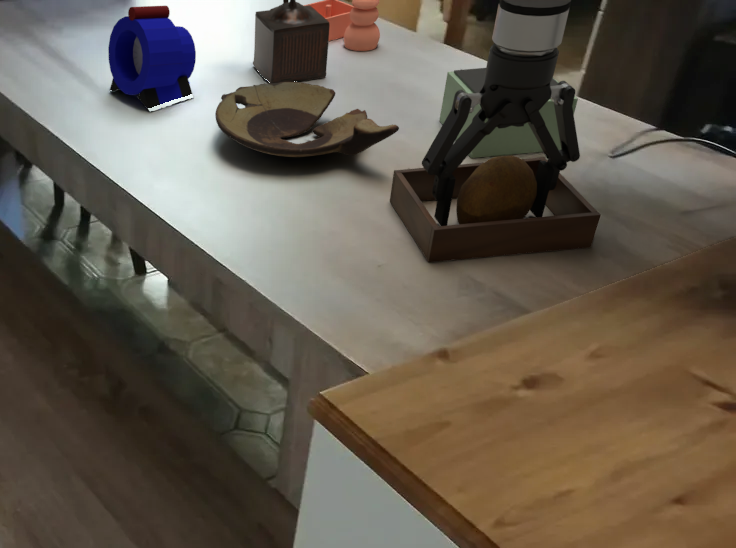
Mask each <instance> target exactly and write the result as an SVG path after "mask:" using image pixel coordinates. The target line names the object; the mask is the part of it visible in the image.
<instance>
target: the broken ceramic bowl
mask: <svg viewBox="0 0 736 548" xmlns="http://www.w3.org/2000/svg"><path fill="white" fill-rule="evenodd" d="M335 97H336V92H335V90H334V88H329V87H325V86H324V85H323V86H321V85H319V84H310V83H306V82H304V81H301V82H280V83H259V84H253V85H250V86H239V87H237V88H236V90H235V91H233V92H229V93H224V94H222V95H221V97H220V100H221V101H220V102H219V103H218V105H217V106H216V110H215V115H214V117H215V121H216V124H217V126H218V128H219V129H220V130H221V132H222V133H223V134H224V135H226V137H228V138H230V139H231V140H233V141H235V142H236V143H238V144H240V145H242V146H244V147H246V148H248V149H251V150H254V151H257V152H259V153H263V154H267V155H272V156H277V157H284V158H285V157H286V158H305V157H306V158H307V157H314V156H321V155H322V156H323V155H326V154H332V153H340V154H343V155H346V156H356V155H359V154H361V153H363V152H364V151H366V150H367V149H369V148H371V147H373V146H374V145H376V144H378V143H380V142H382V141H384V140H386V139H388V138H390V137H391V136H393V135H394V134H396V133H397V132H398V131H399V130H400V127H399V125H397V124H390V125H382V126H380V125H378V124H377V123H376V121H374V120H373V119H372V118H368V113H367V111H366V110H365V109H364V110H361V109H359V108H355V109H353V110H351V111H349V112H345V114H343V115H341V116H338V117H336V118H335V117H334V119H332V120H329V121H327V122H324V123H323V124H320V125H318V126H315V125H316V124H317V123H318V121H319V120H321V118H322V116H323V115H324V113H325V112H326V110H327V109H328V107H329V106H330V105H331V103H332V102H333V100H334V98H335ZM237 104H238V105H242V106H244V107H242V108H239V107H238V105H237ZM314 126H315V127H314ZM313 127H314V128H313ZM311 128H313V129H312V130H311ZM310 130H311V132H312V133H313V135H314V136H316V137H317V138H315V139H313V140H307V141H305V142H300V143H296V142H292V141H289V140H287V139H285V138H290V137H296V136H300V135H303V134H305V133H306V132H309V131H310Z"/></svg>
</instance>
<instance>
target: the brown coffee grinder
mask: <svg viewBox="0 0 736 548" xmlns="http://www.w3.org/2000/svg"><path fill="white" fill-rule="evenodd" d="M306 5H307V4H306ZM254 17H255V20H254V48H253V50H254V51H253V61H252V65H253V67H254V66H255V67H254V69H255V68H256V69H257V70H258V71H259V73H260V74H261V75H262V76H263V77H264V78H265V79H267V80H268V81H269V82H270V83H280V82H294V81H295V82H296V81H301V82H307V81H313V80H318V79H324V78H326V77H327V66H328V55H329V54H328V53H329V42H330V41H329V27H330V24H329V22H328V21H327V20H326V19H325V18H324V17H323V16H322V15H321V14H319V13H318V12H317V11H316V10H315V9H314V8H312V7H311V6H310V5H307V6H303V4H301V3H300V2H298V1H296V0H283V1H282V3H281V4H279V5H278V6H274V7H272V8H270V9H267V10H259V11H255V13H254ZM256 69H255V70H256ZM259 73H258V74H259ZM260 74H259V75H260ZM306 80H307V81H306Z"/></svg>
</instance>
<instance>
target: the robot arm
mask: <svg viewBox="0 0 736 548" xmlns="http://www.w3.org/2000/svg"><path fill="white" fill-rule="evenodd" d="M571 4H572V0H499V2H498V5H497V11H496V16H495V20H494V21H495V22H494V27H493V32H492V37H491V39H492V41H493V44H491V46H490V47H489V50H488V51H489V52H488V56H487V62H486V67H485V68H486V72H485V81H484V85H483V87H482V89H481V90H480V92H479V93H465V92H464V91H463V90H459V91H457V92H456V93H455V96H454V101H453V105H452V109H451V111H450V113H449V115H448V116H447V118H446V120H445V122H444V123H443V124H441V127H440V128H439V130H438V132H437V134H436V135H435V138H434V139H433V141H432V143H431V145H430V146H429V148H428V150H427V152H426V153H425V155H424V157H423V158H422V161H421V165H422V168H425V170H426V171H427V172H428V174H429V175H435V178H434V184H433V190H432V194H433V197H434V198H435V199H436V200H435V201H436V206H435V211H434V218H435V221H437V224H438V225H439V226H447V225H448V222H449V217H450V211H451V206H452V202H453V198H452V196H453V191H454V186H455V180H456V178H455V177H454V176H453V175H452V173H453V172H454V171H455V169H456V168H457V167H458V166H459V165H460V164H463V162H464V161H465V159H466V158H467V157H468V156H469V154H470V153H471V151H472V150H473V149H474V148H475V147H476V146H477V145H478V144H479V142H480V141H481V140H482V139H483V138H484V137H485V136H486V135H489V134H490V133H491V132H492V131H493V130H494V129H495V128H496V127H498V128H506V127H509V126H516V127H521V126H524V124H526V123H528V124H529V126H530V128H531V130H532V132H533V133H534V135H535V137H536V139H537V141H538V143H539V145H540V146H541V148H542V150H543V152H542V153H543V154H544V157H545V158H546V160H548V161H547V162H546V161H545V160H544V161H539V165H538V169H537V174H536V178H535V179H536V182H537V196H536V199H535V201H534V203H533V205H532V207H531V209H530V210H529V212H531V214H533V216H534V218H535V217H543V215H544V211H545V208H546V200H547V196H548V192H549V190H554V188H555V187H556V184H557V180H558V177H559V173H560V174H561V172H562V171H565V170H566V168H567V166H568V163H569V162H572V163H575V162H577V161H578V160H579V159H580V157H581V153H580V147H579V139H578V135H577V127H576V122H575V113H574V114H573V108H572V106H573V101H574V96H576V89H575V88H574V87H573V86H572V85H571V84H570V83H568V82H567V81H566V80H560V81H558V82H559V83H558V84H557V85H555V86H550V82H551V80H552V79H553V78H554V74H555V70H556V66H557V62H558V58H559V53H560V50H559V49H558V47H559V46H560V45H562V42H563V38H564V35H565V34H564V33H565V30H566V25H567V20H568V17H569V12H570V8H571ZM550 97H551V101H552V102H553V103H554V108H555V114H556V120H557V126H558V131H559V137H560V143H561V150H558V148H557V146H556V144H555V142H554V140H553V138H552V137H551V135H550V133H549V131H548V129H547V127H546V125H545V122H544V120H543V118H542V116H541V114H540V112H539V110H540V109H541V108H542V107H543V106H544V105H545V104H546V102H547V101H548V100H549V99H550ZM478 104H479V105H480V106H481V109H480V110H479V112H478V113H477V114H476V115H475V116H474V117H473V119H472V123H471V124H470V125H469V126H468V128H467V129H466V130H465V131H464V132H463V133H462V134H461V136H460V137H459V138H458V139H457V140H456V138H457V136H458V134H459V133H460V131H461V129H462V128H463V126H464V124H465V122H466V120H467V118H468V115H469V113H472V112H473V111H474V107H475V106H476V105H478ZM486 118H487V119H488V121H487V122H486V123H485V120H486Z"/></svg>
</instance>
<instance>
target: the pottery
mask: <svg viewBox="0 0 736 548" xmlns="http://www.w3.org/2000/svg"><path fill="white" fill-rule="evenodd" d="M379 4H380V0H351V4H349V3H347V2H344V1H341V0H320V1H319V0H318V1H316V2H312V3H307V4H304V5H303V4H302V5H303V6H307V5H310V6H311V7H312V8H314V9H315V10H316V11H317V12H318V13H319V14H321V15H322V16H323V17H324V18H325V19H326V20H327V21H328V22H329V24H330V27H329V41H328V42H330V41H335V40H338V39H342V38H343V42H344V47H345V49H348V50H349V51H356V52H368V51H373V50H375V49H376V48H377V47H378V45H379V42H380V39H381V32H380V28H379V26H378V25H377V24H376V23H375V22H377V21H378V18H379V15H380V12H379V9H378V8H377V6H379Z"/></svg>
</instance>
